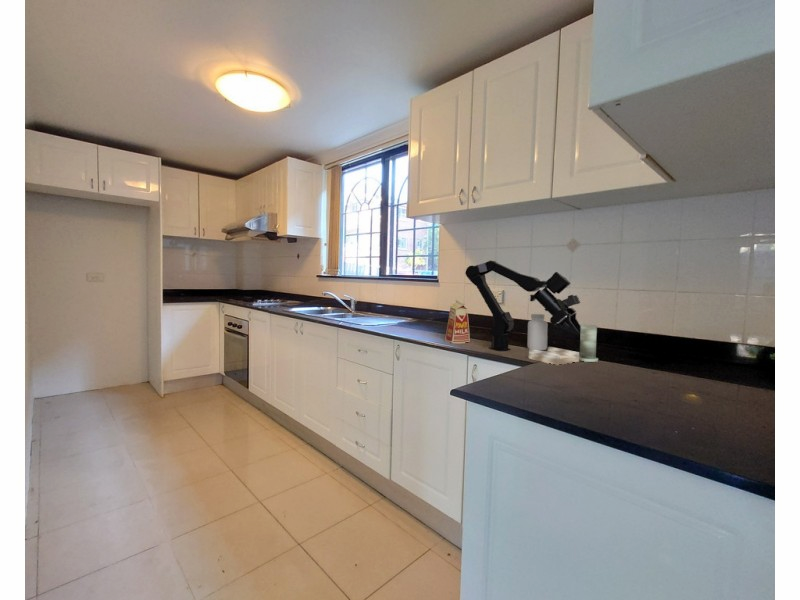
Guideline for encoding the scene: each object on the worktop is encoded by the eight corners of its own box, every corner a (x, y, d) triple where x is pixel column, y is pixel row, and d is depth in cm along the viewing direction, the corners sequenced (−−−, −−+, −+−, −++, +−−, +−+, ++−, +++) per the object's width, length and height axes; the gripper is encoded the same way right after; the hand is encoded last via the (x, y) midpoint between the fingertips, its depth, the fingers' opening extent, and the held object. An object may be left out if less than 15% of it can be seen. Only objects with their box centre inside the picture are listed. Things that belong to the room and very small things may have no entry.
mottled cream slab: (528, 358, 128) (529, 349, 128) (550, 355, 133) (550, 346, 133) (556, 365, 117) (557, 355, 117) (578, 361, 123) (579, 352, 123)
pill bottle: (528, 346, 153) (529, 313, 152) (547, 348, 149) (548, 314, 148) (526, 349, 146) (527, 314, 145) (546, 351, 142) (547, 315, 141)
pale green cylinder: (572, 359, 127) (574, 324, 126) (584, 358, 130) (585, 324, 129) (590, 363, 121) (592, 327, 120) (602, 361, 124) (603, 326, 123)
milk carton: (444, 340, 165) (445, 299, 164) (461, 340, 168) (462, 299, 167) (453, 344, 156) (454, 300, 155) (471, 343, 159) (472, 300, 158)
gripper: (560, 287, 121) (595, 320, 115) (570, 287, 136) (601, 316, 130) (537, 308, 126) (568, 341, 120) (549, 306, 141) (578, 335, 135)
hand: (580, 332), depth 126 cm, fingers open, 9 cm apart
